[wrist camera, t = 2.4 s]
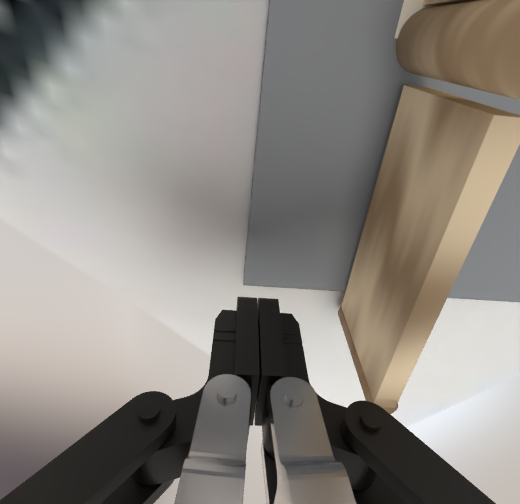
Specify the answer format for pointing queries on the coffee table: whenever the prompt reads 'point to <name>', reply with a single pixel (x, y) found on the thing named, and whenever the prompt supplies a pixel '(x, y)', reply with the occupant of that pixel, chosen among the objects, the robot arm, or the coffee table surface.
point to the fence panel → (420, 229)
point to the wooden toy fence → (465, 44)
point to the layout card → (349, 149)
